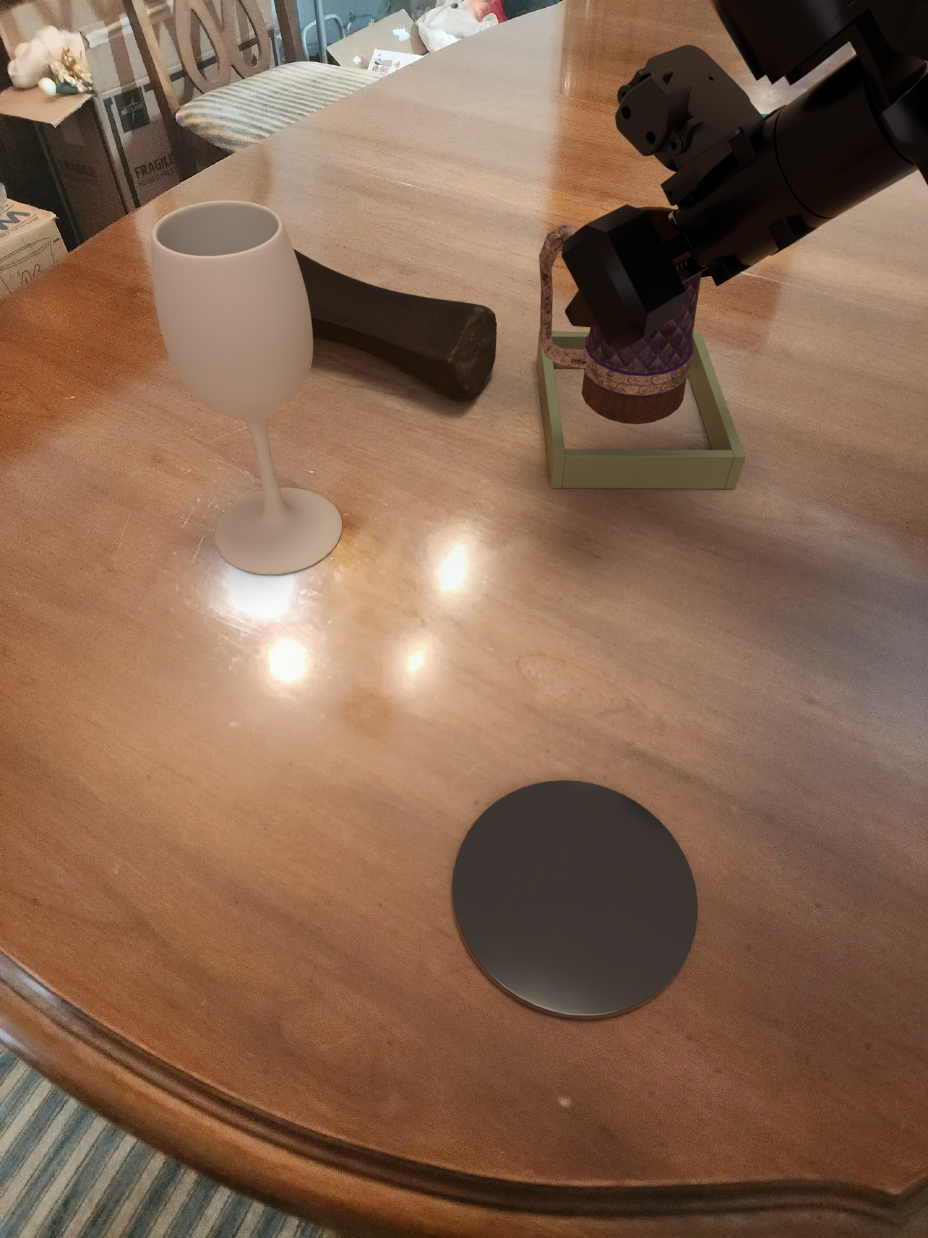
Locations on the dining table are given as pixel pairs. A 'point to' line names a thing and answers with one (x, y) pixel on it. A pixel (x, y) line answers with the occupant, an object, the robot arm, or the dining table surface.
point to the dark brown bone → (404, 329)
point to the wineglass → (243, 361)
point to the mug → (640, 373)
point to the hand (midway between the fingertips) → (605, 297)
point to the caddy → (643, 465)
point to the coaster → (574, 900)
